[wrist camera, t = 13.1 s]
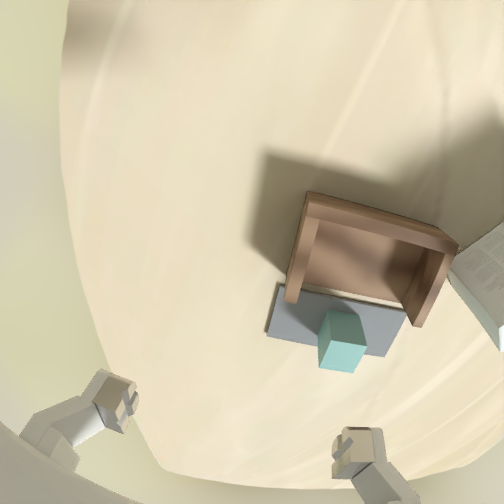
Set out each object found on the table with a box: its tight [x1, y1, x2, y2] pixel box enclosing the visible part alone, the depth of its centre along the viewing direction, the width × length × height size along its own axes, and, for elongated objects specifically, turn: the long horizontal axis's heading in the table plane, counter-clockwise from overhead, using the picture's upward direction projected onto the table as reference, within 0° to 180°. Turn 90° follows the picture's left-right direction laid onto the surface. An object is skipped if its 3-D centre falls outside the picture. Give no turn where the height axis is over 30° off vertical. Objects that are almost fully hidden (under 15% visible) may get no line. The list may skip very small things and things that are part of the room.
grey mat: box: [267, 285, 407, 357], centre depth 42 cm, size 9×20×1 cm, turn 80°
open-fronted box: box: [284, 191, 459, 328], centre depth 34 cm, size 12×19×6 cm, turn 80°
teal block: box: [317, 309, 367, 373], centre depth 38 cm, size 5×5×7 cm
